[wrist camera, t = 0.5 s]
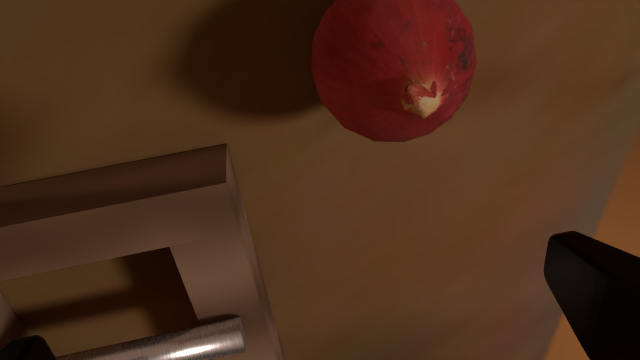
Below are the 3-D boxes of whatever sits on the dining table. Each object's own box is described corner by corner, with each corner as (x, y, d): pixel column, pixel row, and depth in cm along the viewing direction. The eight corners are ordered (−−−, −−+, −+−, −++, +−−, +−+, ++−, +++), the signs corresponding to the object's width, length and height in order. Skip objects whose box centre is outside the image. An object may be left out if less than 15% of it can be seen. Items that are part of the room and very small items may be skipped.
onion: (418, -57, 19) (523, -36, 12) (441, 75, 22) (535, 153, 15) (280, -7, 19) (307, 43, 12) (323, 117, 22) (363, 213, 15)
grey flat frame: (284, 358, 30) (290, 410, 27) (27, 416, 29) (2, 477, 26) (226, 143, 22) (225, 182, 19) (-133, 212, 21) (-196, 266, 18)
